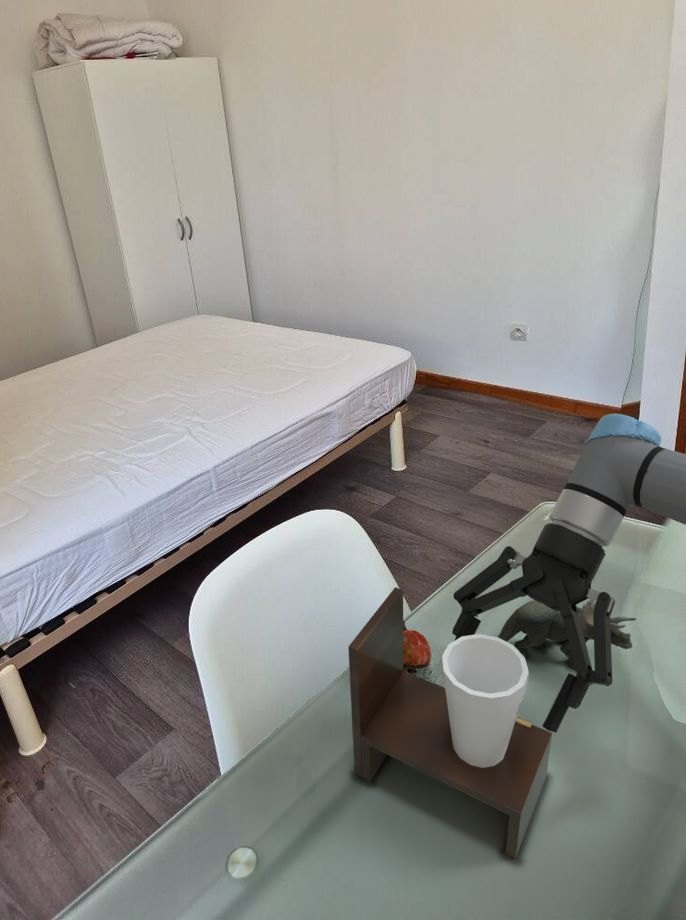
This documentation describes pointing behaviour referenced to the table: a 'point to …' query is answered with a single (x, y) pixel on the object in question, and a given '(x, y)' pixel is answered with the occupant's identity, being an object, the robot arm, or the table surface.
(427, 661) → the pomegranate
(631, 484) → the robot arm
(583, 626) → the toy dinosaur
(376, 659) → the shelf
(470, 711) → the foam cup
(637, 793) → the table surface
